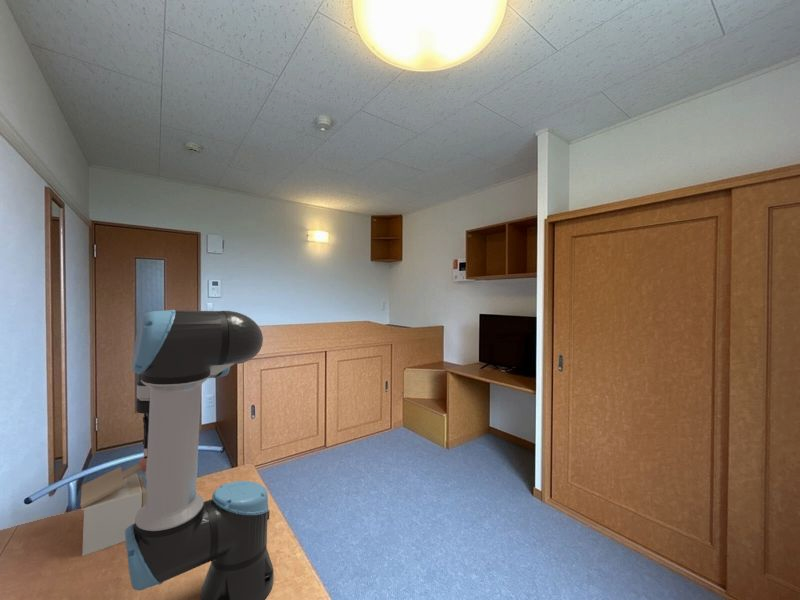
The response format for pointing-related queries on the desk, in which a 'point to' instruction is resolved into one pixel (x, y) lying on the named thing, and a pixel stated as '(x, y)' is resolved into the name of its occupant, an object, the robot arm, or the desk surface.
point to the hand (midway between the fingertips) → (149, 473)
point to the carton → (112, 515)
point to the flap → (108, 483)
